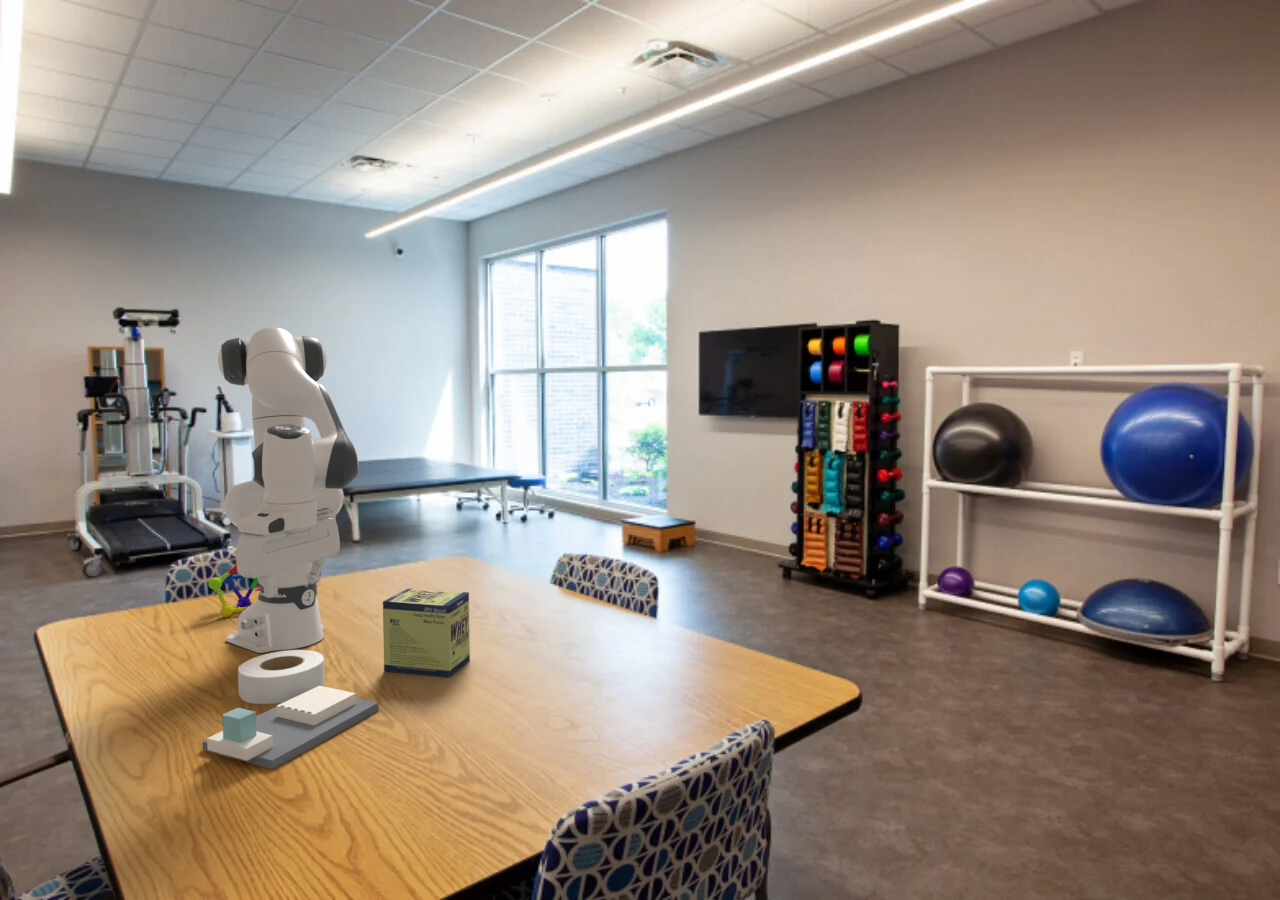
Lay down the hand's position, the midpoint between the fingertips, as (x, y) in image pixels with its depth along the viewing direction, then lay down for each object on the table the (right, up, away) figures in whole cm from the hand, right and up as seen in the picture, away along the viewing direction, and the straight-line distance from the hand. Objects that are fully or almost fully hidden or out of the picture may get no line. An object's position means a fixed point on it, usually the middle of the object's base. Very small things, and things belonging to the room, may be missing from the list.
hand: (292, 589), depth 141 cm
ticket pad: (+4, -22, 0) cm, 23 cm away
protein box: (+18, -22, +26) cm, 38 cm away
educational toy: (-43, -18, +65) cm, 80 cm away
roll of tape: (-8, -23, +14) cm, 28 cm away
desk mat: (+2, -24, -4) cm, 25 cm away
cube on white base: (-2, -24, -15) cm, 28 cm away
